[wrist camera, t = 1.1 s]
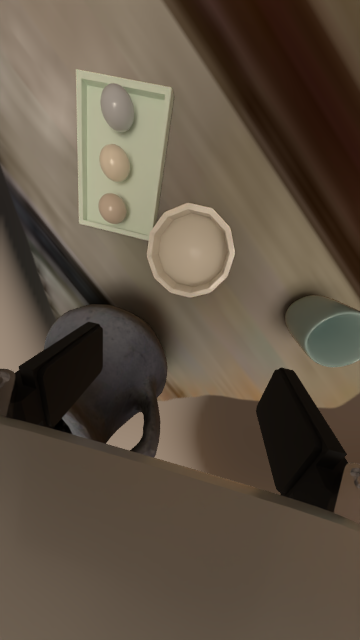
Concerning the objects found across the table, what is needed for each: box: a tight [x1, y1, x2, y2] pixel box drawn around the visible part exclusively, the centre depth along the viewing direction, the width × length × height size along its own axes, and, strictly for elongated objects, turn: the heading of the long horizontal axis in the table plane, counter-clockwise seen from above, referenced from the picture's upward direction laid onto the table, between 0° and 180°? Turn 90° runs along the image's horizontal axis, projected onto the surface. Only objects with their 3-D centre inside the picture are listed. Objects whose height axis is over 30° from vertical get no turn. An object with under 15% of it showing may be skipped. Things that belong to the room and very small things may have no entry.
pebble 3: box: [98, 193, 127, 224], centre depth 28 cm, size 4×4×4 cm
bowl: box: [147, 203, 235, 298], centre depth 28 cm, size 12×12×4 cm
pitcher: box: [44, 304, 167, 458], centre depth 28 cm, size 21×22×25 cm
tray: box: [76, 69, 174, 241], centre depth 27 cm, size 17×12×2 cm
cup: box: [285, 295, 360, 367], centre depth 27 cm, size 8×8×10 cm
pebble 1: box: [100, 83, 134, 132], centre depth 23 cm, size 4×4×4 cm
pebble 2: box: [99, 144, 130, 182], centre depth 25 cm, size 4×4×4 cm
